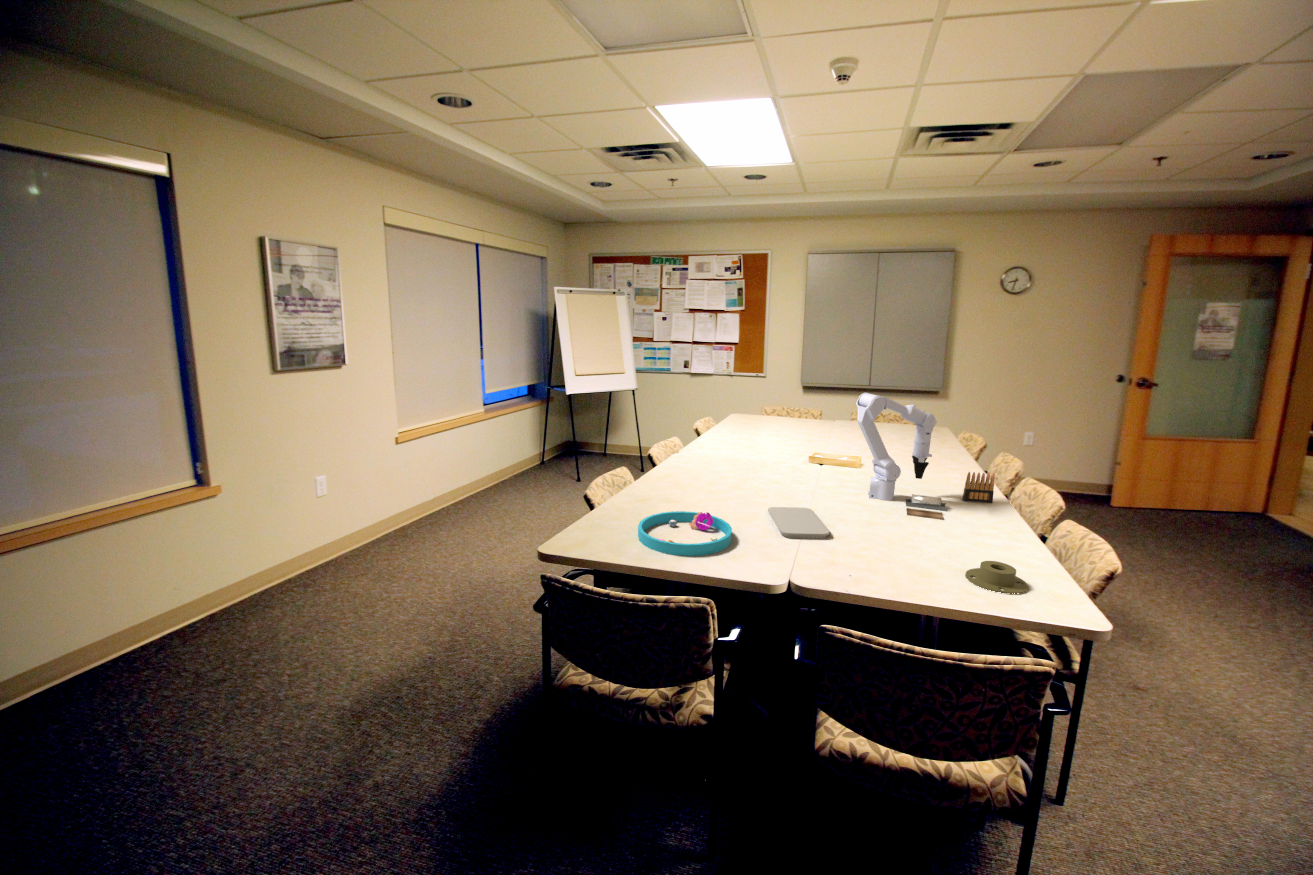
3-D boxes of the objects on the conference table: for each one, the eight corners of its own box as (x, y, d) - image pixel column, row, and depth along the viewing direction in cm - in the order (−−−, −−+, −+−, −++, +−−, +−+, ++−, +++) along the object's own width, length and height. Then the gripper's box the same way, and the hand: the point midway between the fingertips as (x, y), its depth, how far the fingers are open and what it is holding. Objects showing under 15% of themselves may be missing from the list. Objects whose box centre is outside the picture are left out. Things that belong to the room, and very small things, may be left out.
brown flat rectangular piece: (906, 517, 208) (907, 513, 208) (906, 511, 215) (906, 507, 214) (943, 522, 204) (944, 518, 204) (941, 516, 210) (942, 512, 210)
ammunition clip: (990, 501, 229) (995, 472, 227) (992, 503, 228) (996, 474, 225) (962, 499, 231) (966, 470, 229) (963, 501, 229) (967, 472, 227)
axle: (911, 506, 219) (912, 497, 217) (910, 501, 222) (912, 492, 221) (940, 510, 215) (941, 500, 214) (939, 505, 219) (940, 495, 217)
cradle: (905, 508, 218) (906, 503, 218) (905, 503, 225) (905, 497, 224) (946, 513, 213) (947, 508, 213) (944, 508, 220) (945, 502, 219)
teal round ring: (747, 535, 189) (748, 518, 188) (701, 566, 165) (702, 546, 164) (670, 515, 205) (671, 500, 204) (619, 541, 181) (619, 523, 180)
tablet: (810, 513, 211) (810, 507, 211) (831, 540, 186) (832, 534, 185) (766, 512, 211) (766, 506, 211) (781, 539, 186) (781, 533, 185)
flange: (962, 552, 167) (974, 574, 153) (1020, 560, 162) (1038, 582, 148) (960, 568, 168) (971, 590, 153) (1018, 575, 163) (1035, 599, 149)
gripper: (934, 447, 218) (930, 481, 221) (931, 440, 231) (927, 472, 234) (914, 445, 221) (910, 479, 223) (912, 438, 234) (909, 470, 237)
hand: (918, 476), depth 229 cm, fingers open, 7 cm apart
